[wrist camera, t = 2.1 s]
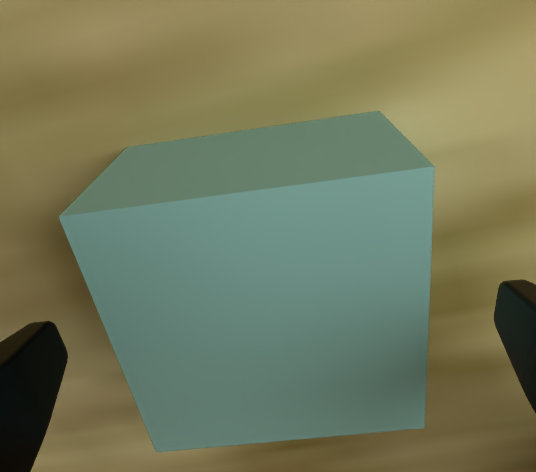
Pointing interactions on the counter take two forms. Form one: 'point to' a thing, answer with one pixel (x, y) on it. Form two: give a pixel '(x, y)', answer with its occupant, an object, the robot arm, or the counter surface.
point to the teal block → (265, 280)
